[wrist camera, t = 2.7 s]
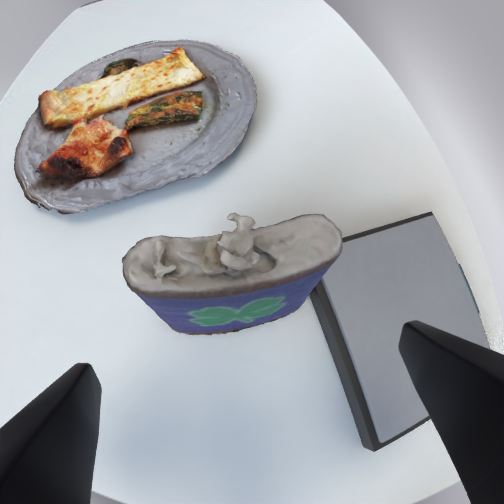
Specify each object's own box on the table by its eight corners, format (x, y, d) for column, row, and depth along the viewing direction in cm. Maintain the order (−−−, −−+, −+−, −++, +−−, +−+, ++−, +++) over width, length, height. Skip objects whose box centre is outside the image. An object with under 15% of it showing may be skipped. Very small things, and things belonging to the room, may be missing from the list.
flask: (298, 275, 21) (348, 182, 11) (308, 317, 20) (375, 253, 10) (163, 298, 20) (99, 220, 10) (168, 342, 19) (99, 300, 9)
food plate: (12, 252, 20) (-11, 234, 17) (40, 96, 29) (31, 77, 26) (290, 170, 24) (297, 141, 21) (221, 43, 33) (220, 21, 30)
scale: (485, 368, 18) (503, 364, 16) (363, 447, 16) (377, 453, 14) (425, 220, 23) (438, 206, 21) (295, 260, 21) (302, 246, 19)
